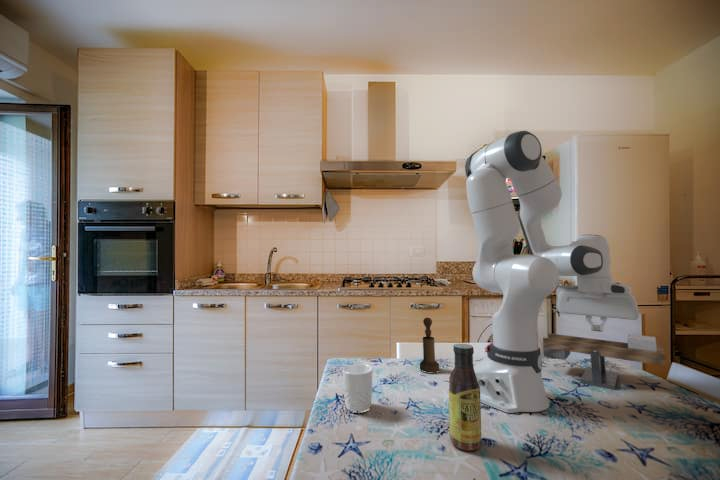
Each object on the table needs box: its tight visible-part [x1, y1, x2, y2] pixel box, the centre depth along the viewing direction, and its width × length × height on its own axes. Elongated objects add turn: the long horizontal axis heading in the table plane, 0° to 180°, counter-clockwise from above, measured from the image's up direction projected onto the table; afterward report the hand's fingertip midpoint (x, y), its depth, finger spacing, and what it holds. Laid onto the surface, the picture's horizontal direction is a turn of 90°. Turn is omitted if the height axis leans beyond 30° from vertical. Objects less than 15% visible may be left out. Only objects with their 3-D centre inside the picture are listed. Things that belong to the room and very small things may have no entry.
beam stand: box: [579, 351, 619, 390], centre depth 96 cm, size 8×14×10 cm, turn 137°
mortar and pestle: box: [419, 317, 440, 372], centre depth 108 cm, size 7×6×18 cm
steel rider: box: [626, 333, 657, 353], centre depth 89 cm, size 6×6×4 cm
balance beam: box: [542, 332, 667, 367], centre depth 96 cm, size 29×10×7 cm, turn 47°
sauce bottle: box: [448, 343, 482, 452], centre depth 65 cm, size 7×6×20 cm
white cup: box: [342, 363, 373, 411], centre depth 81 cm, size 8×8×10 cm
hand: (596, 331), depth 96 cm, fingers closed
